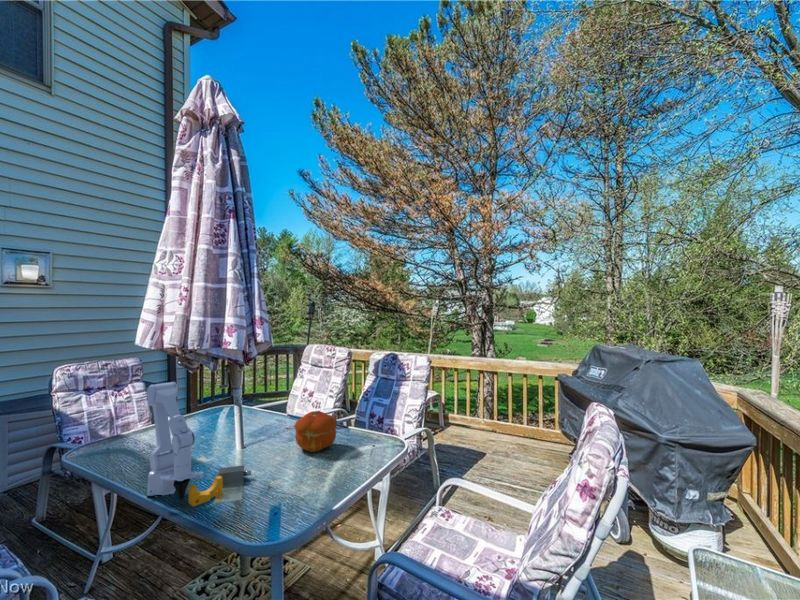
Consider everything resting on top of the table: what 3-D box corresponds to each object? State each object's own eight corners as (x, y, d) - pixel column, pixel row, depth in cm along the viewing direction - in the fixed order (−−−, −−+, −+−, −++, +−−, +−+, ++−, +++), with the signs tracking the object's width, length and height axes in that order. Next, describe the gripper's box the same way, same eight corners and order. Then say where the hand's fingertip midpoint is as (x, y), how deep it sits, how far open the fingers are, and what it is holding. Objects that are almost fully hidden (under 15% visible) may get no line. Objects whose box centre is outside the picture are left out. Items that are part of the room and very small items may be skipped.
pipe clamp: (193, 506, 145) (193, 489, 145) (188, 502, 148) (188, 486, 148) (224, 494, 154) (224, 478, 155) (219, 491, 157) (219, 475, 157)
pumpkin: (286, 447, 208) (287, 410, 209) (322, 438, 223) (323, 404, 224) (306, 460, 191) (307, 420, 191) (344, 449, 206) (345, 412, 206)
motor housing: (213, 503, 148) (214, 490, 148) (219, 479, 168) (219, 468, 168) (249, 498, 152) (250, 486, 152) (251, 475, 173) (251, 464, 173)
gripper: (158, 470, 142) (157, 506, 142) (201, 465, 147) (201, 500, 147) (163, 462, 149) (162, 497, 149) (204, 458, 154) (203, 492, 154)
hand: (181, 498), depth 148 cm, fingers closed
